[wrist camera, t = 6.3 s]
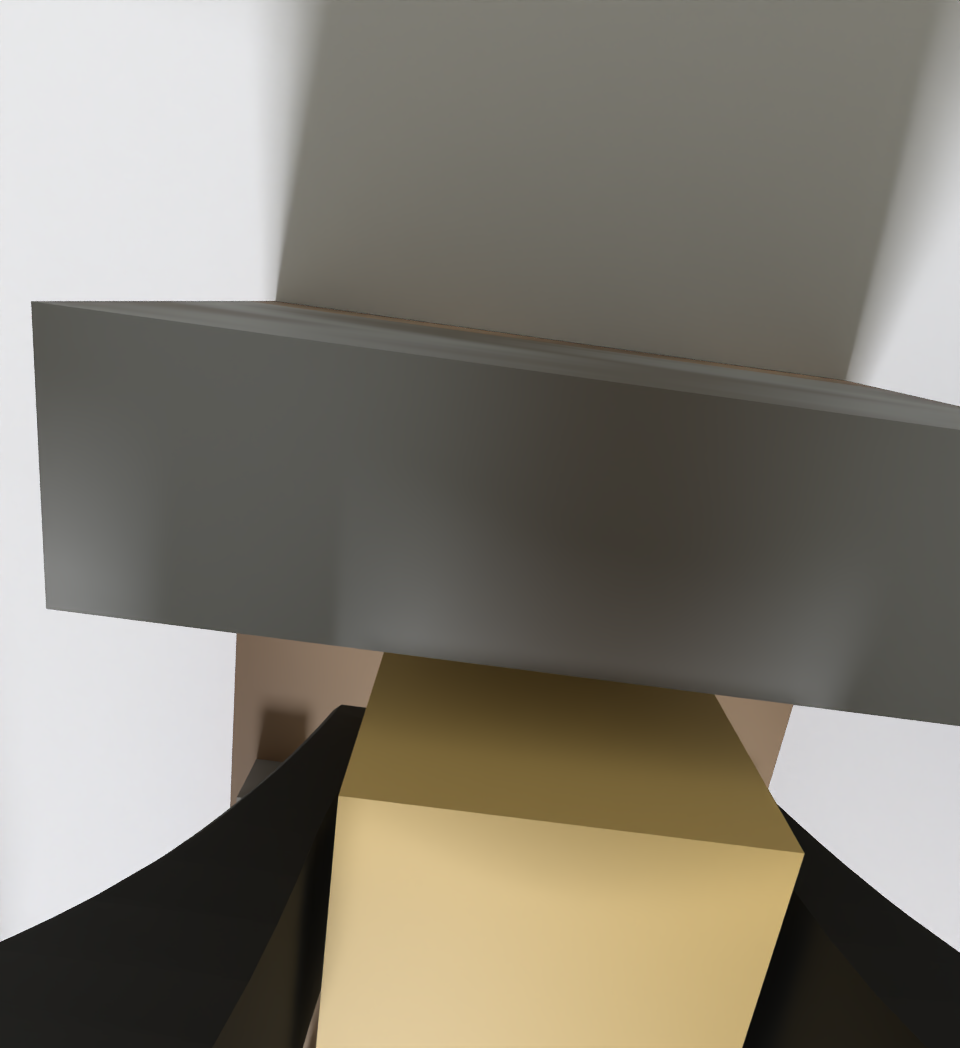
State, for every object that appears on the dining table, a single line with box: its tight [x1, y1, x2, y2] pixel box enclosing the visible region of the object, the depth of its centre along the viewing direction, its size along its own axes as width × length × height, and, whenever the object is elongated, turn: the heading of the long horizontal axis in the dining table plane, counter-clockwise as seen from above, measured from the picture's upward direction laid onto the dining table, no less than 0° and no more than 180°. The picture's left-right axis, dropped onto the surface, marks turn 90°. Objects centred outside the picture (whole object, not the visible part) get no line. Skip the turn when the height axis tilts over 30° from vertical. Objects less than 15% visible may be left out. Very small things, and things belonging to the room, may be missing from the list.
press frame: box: [31, 301, 960, 1048], centre depth 14 cm, size 11×24×8 cm, turn 172°
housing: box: [316, 652, 805, 1048], centre depth 10 cm, size 4×4×6 cm
